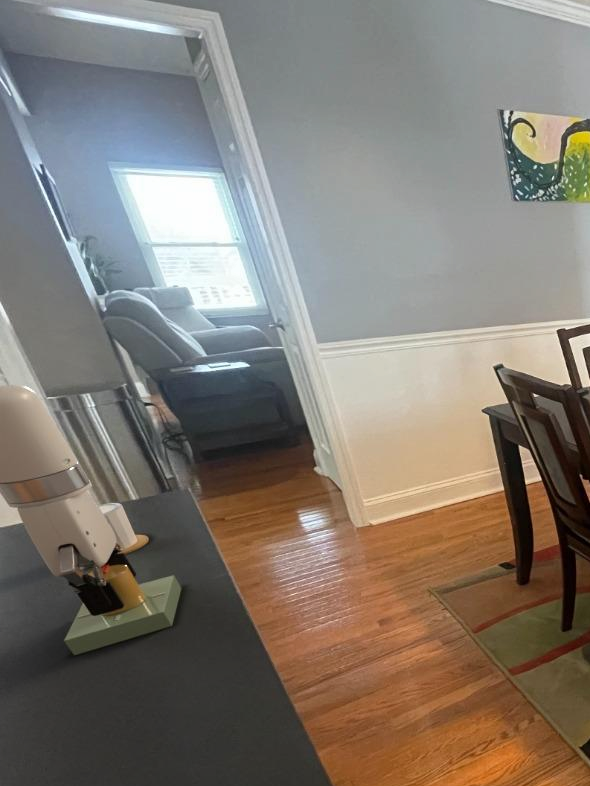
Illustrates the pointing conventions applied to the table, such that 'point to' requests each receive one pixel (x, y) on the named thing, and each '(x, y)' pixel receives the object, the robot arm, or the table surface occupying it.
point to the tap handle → (123, 586)
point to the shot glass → (119, 524)
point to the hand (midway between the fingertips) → (116, 594)
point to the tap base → (126, 618)
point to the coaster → (136, 544)
